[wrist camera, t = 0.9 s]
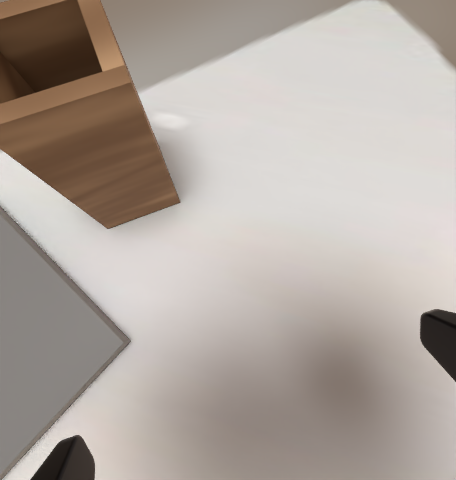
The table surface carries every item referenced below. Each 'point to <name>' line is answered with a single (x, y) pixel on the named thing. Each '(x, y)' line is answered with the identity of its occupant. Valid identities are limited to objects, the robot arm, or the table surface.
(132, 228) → the table surface
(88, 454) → the robot arm
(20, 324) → the post stand
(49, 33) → the wooden pencil cup
